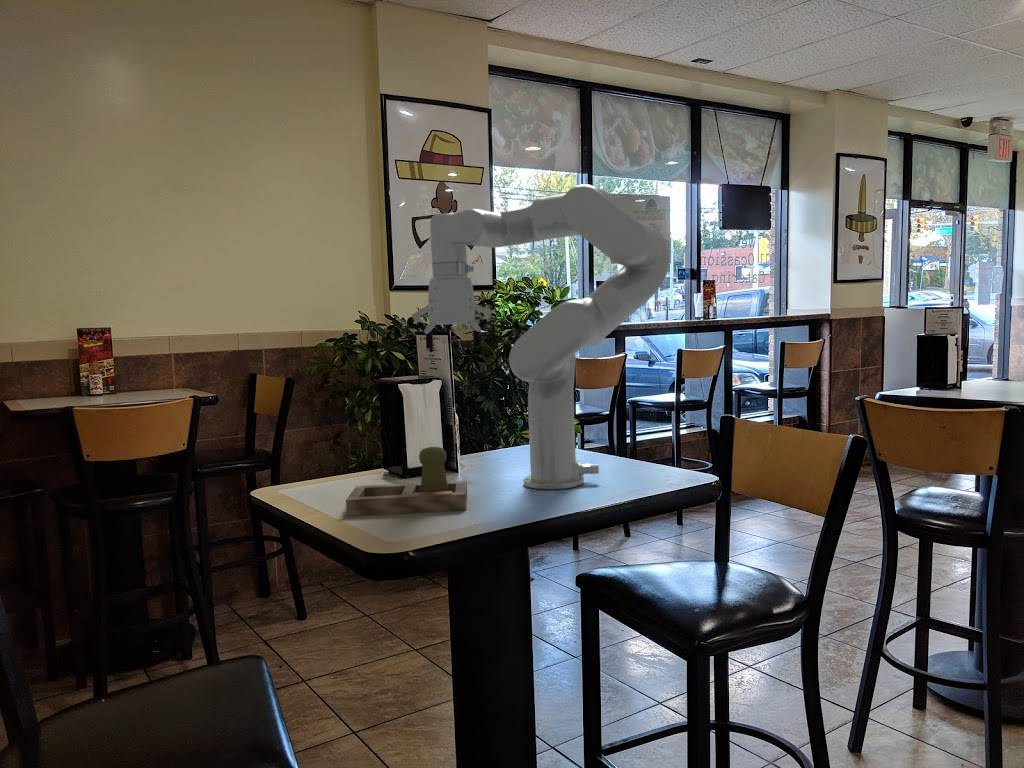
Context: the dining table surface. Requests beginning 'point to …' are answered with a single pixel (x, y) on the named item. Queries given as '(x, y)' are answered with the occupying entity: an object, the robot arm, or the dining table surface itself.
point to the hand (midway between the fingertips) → (453, 351)
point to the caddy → (405, 499)
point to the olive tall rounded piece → (433, 470)
